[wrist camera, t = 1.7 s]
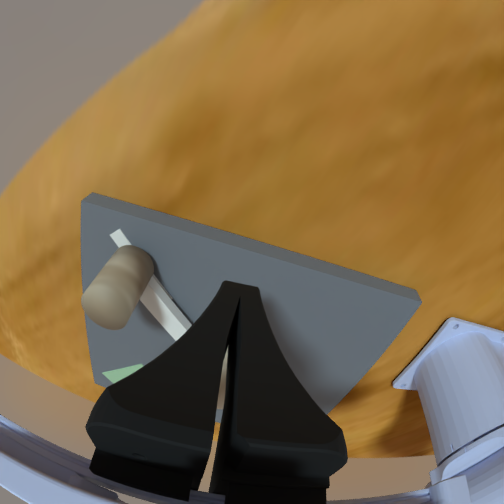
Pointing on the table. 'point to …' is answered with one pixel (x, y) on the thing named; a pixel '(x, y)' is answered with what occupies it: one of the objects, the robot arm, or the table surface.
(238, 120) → the table surface
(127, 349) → the dial board
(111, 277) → the crank handle
